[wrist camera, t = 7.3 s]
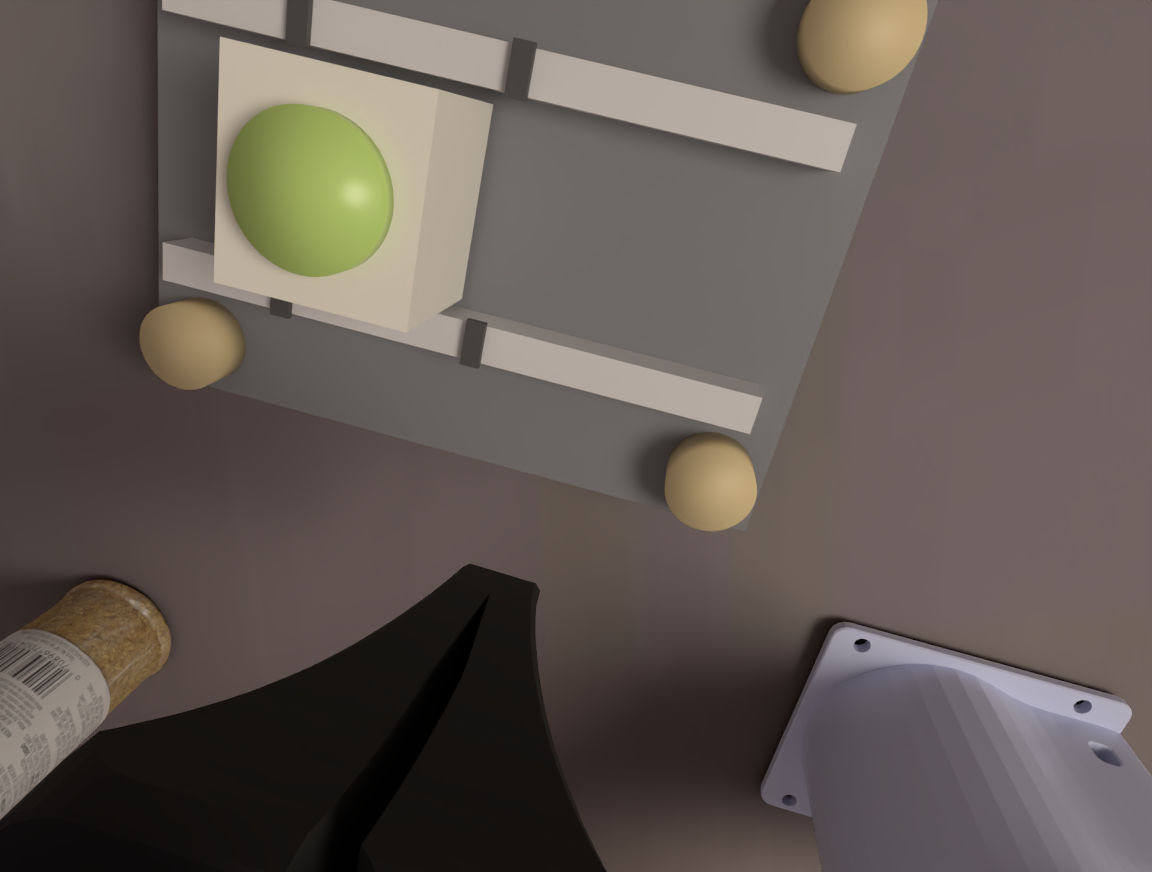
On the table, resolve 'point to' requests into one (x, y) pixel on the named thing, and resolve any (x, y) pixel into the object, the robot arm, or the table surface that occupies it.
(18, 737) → the sprinkles bottle
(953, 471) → the table surface
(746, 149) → the levelling base
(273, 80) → the block
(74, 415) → the table surface
